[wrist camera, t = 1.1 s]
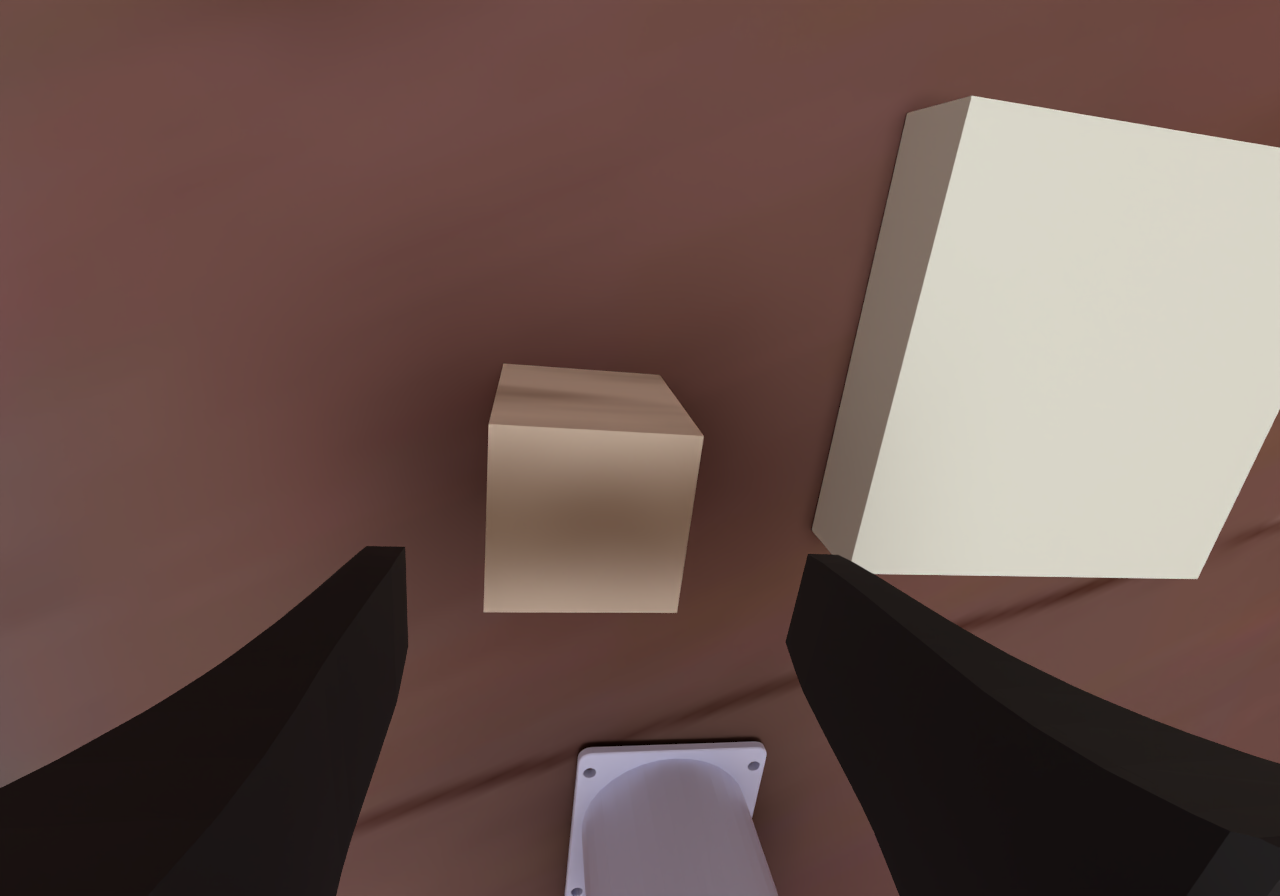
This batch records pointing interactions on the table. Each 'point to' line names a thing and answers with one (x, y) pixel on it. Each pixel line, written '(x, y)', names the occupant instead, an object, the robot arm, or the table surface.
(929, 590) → the table surface
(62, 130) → the table surface
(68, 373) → the table surface
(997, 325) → the base plinth
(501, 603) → the ash block
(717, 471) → the table surface
